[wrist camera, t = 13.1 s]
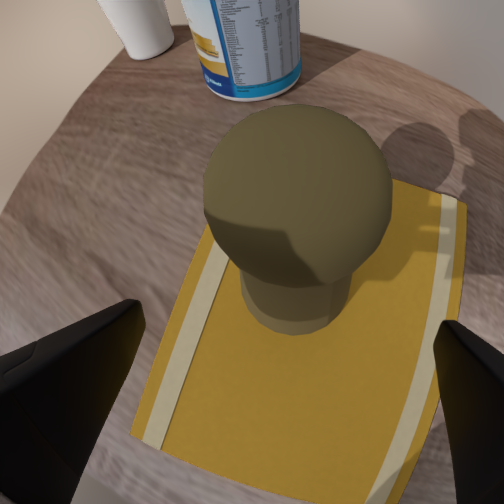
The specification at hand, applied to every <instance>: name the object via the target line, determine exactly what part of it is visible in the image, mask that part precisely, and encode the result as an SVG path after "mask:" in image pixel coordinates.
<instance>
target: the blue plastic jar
mask: <svg viewBox="0 0 504 504" xmlns="http://www.w3.org/2000/svg"><path fill="white" fill-rule="evenodd" d="M181 2H182V5H183V8H184V12H185V15H186V18H187V21H188V24H189V27H190V30H191V33H192V37H193V40H194V43H195V46H196V49H197V53H198V56H199V59H200V63H201V66H202V70H203V75H204V78H205V81H206V84H207V86H208V87H209V88H210V90H211V91H213V92H214V93H215V94H217V95H218V96H220V97H223V98H225V99H229V100H233V101H242V102H251V101H260V100H265V99H269V98H272V97H275V96H278V95H280V94H282V93H284V92H286V91H287V90H289V89H290V88H291V87H292V86H293V85H294V84H295V83H296V82H297V80H298V79H299V76H300V73H301V57H300V24H299V0H181Z"/></svg>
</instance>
